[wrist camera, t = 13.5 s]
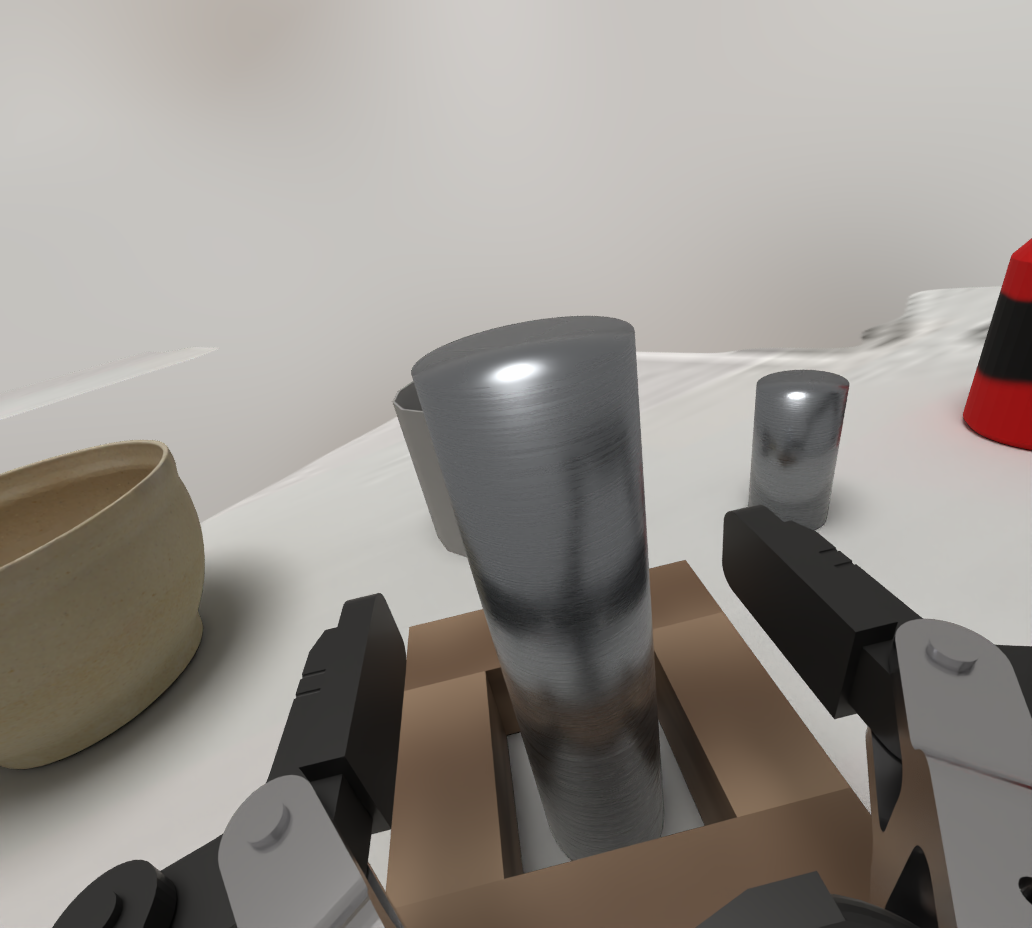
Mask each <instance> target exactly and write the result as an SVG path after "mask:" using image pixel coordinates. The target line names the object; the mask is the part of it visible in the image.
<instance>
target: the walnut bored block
mask: <svg viewBox="0 0 1032 928" xmlns="http://www.w3.org/2000/svg"><path fill="white" fill-rule="evenodd" d="M649 578H650V594H651V611H652V627H653V644H654V660H655V677H656V694H657V710H658V719H659V721H660V724H661V726H662V728H663V730H664V733H665V735H666V737H667V740H668V742H669V744H670V746H671V749H672V751H673V753H674V756H675V758H676V760H677V763H678V765H679V767H680V769H681V772H682V774H683V776H684V779H685V781H686V783H687V786H688V788H689V790H690V792H691V795H692V797H693V799H694V802H695V804H696V806H697V808H698V811H699V813H700V815H701V818H702V820H703V822H704V825H705V826H703V827H699V828H695V829H691V830H687V831H684V832H680V833H676V834H672V835H669V836H665V837H661V838H657V839H653V840H650V841H646V842H642V843H638V844H635V845H631V846H627V847H623V848H619V849H616V850H612V851H608V852H604V853H601V854H597V855H593V856H589V857H585V858H582V859H578V860H574V861H570V862H567V863H563V864H559V865H555V866H552V867H548V868H544V869H540V870H536V871H533V872H529V873H525V874H523V867H522V859H521V851H520V842H519V834H518V826H517V818H516V809H515V801H514V793H513V785H512V777H511V768H510V760H509V752H508V744H507V735H509V734H513V733H517V732H520V728H519V725H518V722H517V719H516V715H515V712H514V709H513V706H512V702H511V699H510V696H509V692H508V689H507V686H506V683H505V679H504V676H503V673H502V669H501V666H500V663H499V660H498V656H497V653H496V650H495V647H494V643H493V640H492V637H491V633H490V630H489V627H488V624H487V620H486V617H485V614H484V610H483V609H482V610H478V611H474V612H469V613H465V614H461V615H457V616H453V617H449V618H445V619H441V620H437V621H432V622H428V623H424V624H420V625H416V626H412V627H409V638H408V649H407V660H406V677H405V687H404V698H403V709H402V720H401V730H400V741H399V752H398V763H397V773H396V784H395V795H394V806H393V817H392V828H391V839H390V850H389V861H388V873H387V884H386V893H387V895H388V897H389V899H390V900H391V902H392V904H393V905H394V907H395V909H396V911H397V912H398V914H399V916H400V918H401V919H402V921H403V923H404V924H405V926H406V928H695V927H697V926H698V925H699V924H701V923H702V922H703V921H705V920H706V919H707V918H709V917H710V916H712V915H713V914H714V913H716V912H717V911H718V910H720V909H721V908H722V907H724V906H725V905H726V904H728V903H729V902H730V901H732V900H733V899H734V898H736V897H737V896H738V895H740V894H741V893H743V892H744V891H745V890H747V889H749V888H753V887H757V886H761V885H764V884H768V883H772V882H776V881H780V880H783V879H787V878H791V877H795V876H798V875H802V874H806V873H810V872H814V871H817V872H818V873H819V875H820V877H821V879H822V880H823V882H824V884H825V885H826V887H827V889H828V891H829V892H830V894H837V895H841V896H846V897H850V898H854V899H859V900H862V901H865V902H867V903H870V871H871V863H872V854H873V830H872V817H871V815H870V813H869V812H868V810H867V809H866V808H865V806H864V805H863V804H862V802H861V801H860V799H859V798H858V797H857V795H856V794H855V793H854V791H853V790H852V788H851V787H850V786H849V784H848V783H847V782H846V780H845V779H844V777H843V776H842V775H841V773H840V772H839V771H838V769H837V768H836V766H835V765H834V764H833V762H832V761H831V760H830V758H829V757H828V755H827V754H826V753H825V751H824V750H823V749H822V747H821V746H820V744H819V743H818V742H817V740H816V739H815V738H814V736H813V735H812V733H811V732H810V731H809V729H808V728H807V727H806V725H805V724H804V722H803V721H802V720H801V718H800V717H799V715H798V714H797V713H796V711H795V710H794V709H793V707H792V706H791V704H790V703H789V702H788V700H787V699H786V698H785V696H784V695H783V693H782V692H781V691H780V689H779V688H778V687H777V685H776V684H775V682H774V681H773V680H772V678H771V677H770V676H769V674H768V673H767V671H766V670H765V669H764V667H763V666H762V665H761V663H760V662H759V660H758V659H757V658H756V656H755V655H754V654H753V652H752V651H751V649H750V648H749V647H748V645H747V644H746V643H745V641H744V640H743V638H742V637H741V636H740V634H739V633H738V632H737V630H736V629H735V627H734V626H733V625H732V623H731V622H730V621H729V619H728V618H727V616H726V615H725V614H724V612H723V611H722V610H721V608H720V607H719V605H718V604H717V603H716V601H715V600H714V599H713V597H712V596H711V594H710V593H709V592H708V590H707V589H706V588H705V586H704V585H703V583H702V582H701V581H700V579H699V578H698V576H697V575H696V574H695V572H694V571H693V570H692V568H691V567H690V565H689V564H688V563H687V561H686V560H683V561H679V562H675V563H671V564H667V565H663V566H659V567H654V568H650V569H649Z"/></svg>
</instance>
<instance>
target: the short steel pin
mask: <svg viewBox="0 0 1032 928" xmlns="http://www.w3.org/2000/svg"><path fill="white" fill-rule="evenodd" d="M848 390H849V382H848V380H847V379H845V378H844V377H842V376H840V375H837V374H834V373H830V372H825V371H816V370H790V371H782V372H777V373H773V374H770V375H767V376H764V377H763V378H761V379H760V380H759V381H758V382H757V387H756V401H755V416H754V430H753V444H752V459H751V473H750V488H749V502H748V507H750V506H754V505H760V504H761V505H764V506H766V507H767V508H768V509H769V510H770V511H772V512H773V513H774V514H775V515H776V516H777V517H779V518H780V519H781V520H782V521H783V522H787V521H794V522H796V523H798V524H800V525H802V526H805V527H807V528H809V529H811V530H816V529H818V528H820V527H821V526H822V525H823V524H824V523H825V522H826V519H827V513H828V507H829V501H830V495H831V489H832V483H833V478H834V472H835V466H836V460H837V454H838V448H839V443H840V437H841V431H842V425H843V419H844V413H845V408H846V402H847V396H848Z"/></svg>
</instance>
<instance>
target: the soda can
mask: <svg viewBox="0 0 1032 928" xmlns="http://www.w3.org/2000/svg"><path fill="white" fill-rule="evenodd" d="M963 418H964V420H965V421H966V422H967V424H968V425H969V426H970V427H971V429H972V430H974V431H975V432H977V433H978V434H980V435H982V436H984V437H986V438H988V439H991V440H994V441H996V442H999V443H1003V444H1006V445H1010V446H1014V447H1018V448H1023V449H1028V450H1032V239H1030V240H1029V241H1028V242H1027V243H1025V244H1024V245H1023V246H1022V247H1020V248H1019V249H1018V250H1017V251H1015V252H1014V253H1013V254H1012V256H1011V259H1010V262H1009V265H1008V269H1007V272H1006V275H1005V278H1004V281H1003V285H1002V288H1001V291H1000V295H999V298H998V301H997V304H996V308H995V311H994V314H993V317H992V321H991V324H990V327H989V330H988V334H987V337H986V340H985V343H984V347H983V350H982V353H981V357H980V360H979V363H978V366H977V370H976V373H975V376H974V379H973V383H972V386H971V389H970V392H969V396H968V399H967V402H966V405H965V409H964V412H963Z"/></svg>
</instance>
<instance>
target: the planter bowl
mask: <svg viewBox="0 0 1032 928" xmlns="http://www.w3.org/2000/svg"><path fill="white" fill-rule="evenodd" d="M204 570H205V555H204V544H203V536H202V531H201V526H200V522H199V519H198V515H197V512H196V509H195V507H194V505H193V502H192V500H191V498H190V495H189V493H188V491H187V489H186V487H185V485H184V484H183V482H182V481H181V479H180V477H179V476H178V473H177V468H176V463H175V460H174V458H173V456H172V454H171V452H170V450H169V449H168V447H167V446H166V445H165V444H164V443H162V442H160V441H154V440H130V441H122V442H121V441H120V442H114V443H109V444H104V445H99V446H95V447H90V448H86V449H82V450H78V451H74V452H71V453H67V454H63V455H59V456H55V457H52V458H48V459H45V460H42V461H39V462H35V463H32V464H29V465H26V466H23V467H19V468H17V469H13V470H10V471H7V472H5V473H2V474H0V766H2V767H5V768H11V769H28V768H34V767H39V766H43V765H46V764H49V763H52V762H55V761H58V760H60V759H63V758H66V757H68V756H71V755H73V754H75V753H77V752H79V751H81V750H83V749H85V748H87V747H89V746H91V745H93V744H94V743H96V742H98V741H100V740H101V739H103V738H105V737H106V736H108V735H110V734H111V733H113V732H114V731H116V730H117V729H119V728H120V727H121V726H123V725H124V724H126V723H127V722H129V721H130V720H132V719H133V718H134V717H136V716H137V715H138V714H139V713H141V712H142V711H143V710H144V709H145V708H147V707H148V706H149V705H150V704H151V703H152V702H153V701H155V700H156V699H157V698H158V697H159V696H160V695H161V694H162V693H163V692H164V691H165V690H166V689H167V688H168V687H169V686H170V685H171V684H172V683H173V682H174V681H175V680H176V679H177V677H178V676H179V675H180V674H181V673H182V671H183V670H184V669H185V668H186V666H187V665H188V663H189V662H190V660H191V659H192V657H193V656H194V654H195V652H196V650H197V648H198V646H199V644H200V641H201V637H202V632H203V625H202V620H201V618H200V615H199V613H198V608H199V604H200V600H201V595H202V590H203V583H204Z"/></svg>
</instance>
